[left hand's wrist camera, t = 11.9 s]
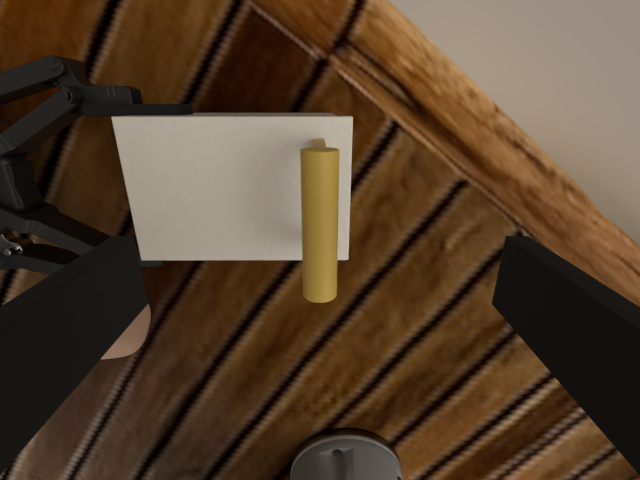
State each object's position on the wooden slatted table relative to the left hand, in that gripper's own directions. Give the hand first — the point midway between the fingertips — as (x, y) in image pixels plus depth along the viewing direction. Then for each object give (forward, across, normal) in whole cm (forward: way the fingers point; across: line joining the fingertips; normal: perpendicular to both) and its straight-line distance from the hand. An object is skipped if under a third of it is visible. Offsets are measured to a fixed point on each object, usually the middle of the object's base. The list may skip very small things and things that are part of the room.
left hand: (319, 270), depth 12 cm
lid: (+12, +6, 0) cm, 14 cm away
